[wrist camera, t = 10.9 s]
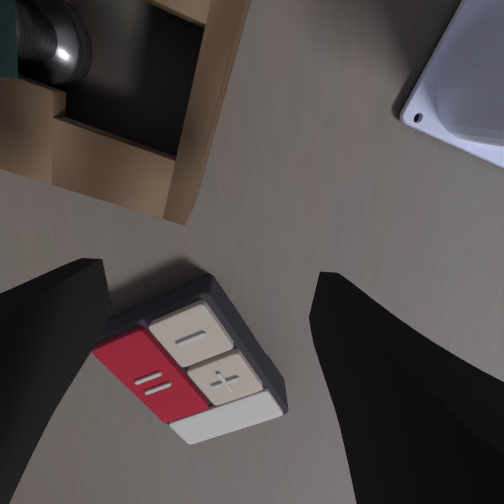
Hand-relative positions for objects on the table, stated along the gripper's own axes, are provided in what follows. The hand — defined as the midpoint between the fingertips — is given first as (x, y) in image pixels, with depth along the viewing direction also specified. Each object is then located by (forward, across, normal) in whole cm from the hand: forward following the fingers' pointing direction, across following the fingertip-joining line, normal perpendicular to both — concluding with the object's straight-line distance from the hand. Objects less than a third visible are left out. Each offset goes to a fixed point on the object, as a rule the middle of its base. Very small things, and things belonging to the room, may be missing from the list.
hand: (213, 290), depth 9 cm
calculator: (+11, +2, +15) cm, 19 cm away
